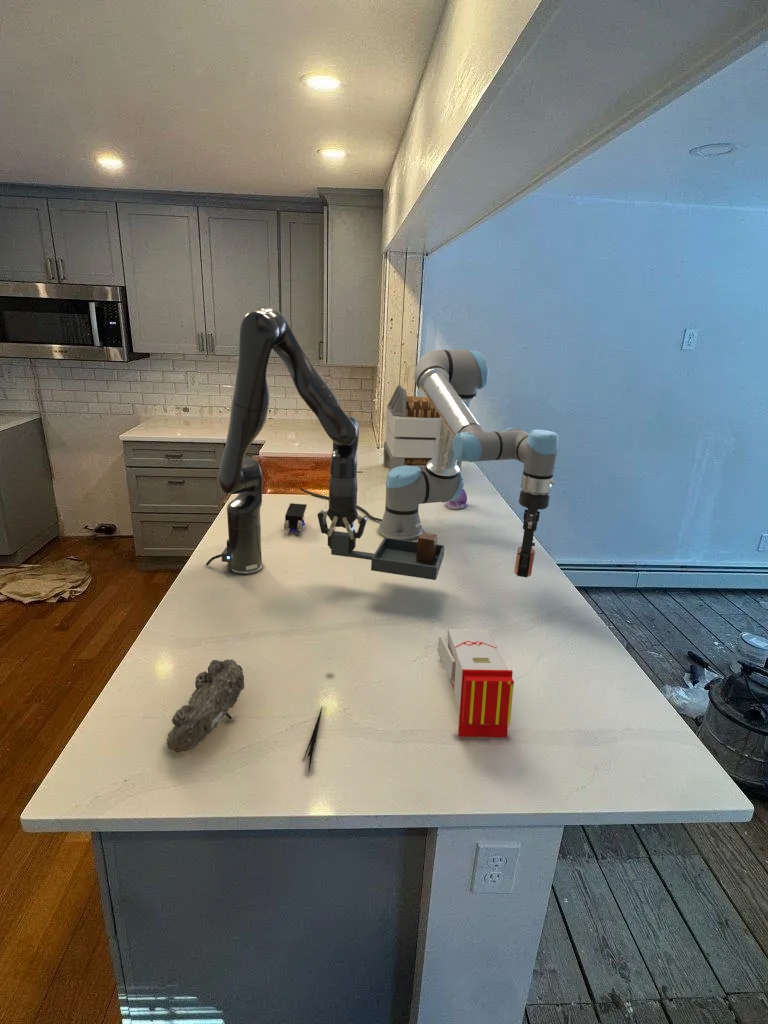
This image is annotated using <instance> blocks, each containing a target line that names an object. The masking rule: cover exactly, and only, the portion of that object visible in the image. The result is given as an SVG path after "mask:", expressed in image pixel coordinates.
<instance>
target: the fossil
mask: <svg viewBox="0 0 768 1024" xmlns="http://www.w3.org/2000/svg"><path fill="white" fill-rule="evenodd" d="M243 670H244V669H243V667H242V665H240V664H237V662H236V661H235V660H234V659H232V658H231V659H227V658H226V659H224V660H223V661H222V660H217V659H212V660H211V661H210V663H209V665H208V666H207V671H201V672H199V673H198V674H197V675H196V676H195V680H194V684H195V685H194V687H195V689H194V690H193V693H192V694H191V697H190V698H189V700H188V704H184V705H182V706H181V707H180V709H177V710H176V711H175V713H174V715H173V716H172V718H171V723H172V724H173V727H172V730H171V731H170V732H168V734H167V738H166V741H167V742H166V745H167V749H168V750H169V751H173V752H174V753H176V754H178V753H182V752H188V751H189V752H192V751H193V750H195V748H196V747H197V746H199V744H200V743H201V742H203V741H204V740H205V739H206V738H207V737H208V736H209V735H210V734H211V733H212V732H214V730H215V729H217V727H218V726H219V724H220V722H221V721H222V720H223V719H224V718H225V716H226V717H227V719H229V720H233V717H232V715H230V714H229V710H230V709H231V708H234V706H235V704H236V703H237V702H238V699H239V697H240V695H241V693H242V691H243V690H245V689H244V688H245V675H244V671H243Z"/></svg>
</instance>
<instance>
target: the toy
mask: <svg viewBox="0 0 768 1024" xmlns="http://www.w3.org/2000/svg"><path fill="white" fill-rule="evenodd" d="M446 640H447V643H446V641H445V639H444V636H443V635H442V634H439V637H438V646H437V656H438V657H439V659H440V661H441V663H442V666H443V668H444V670H445V672H446V674H447V677H448V679H449V681H450V684H451V687H452V690H453V693H454V697H455V701H456V705H457V708H458V711H459V714H458V715H459V716H458V730H457V731H458V732H457V737H458V738H508V731H509V726H510V725H511V717H512V707H513V697H514V696H513V695H514V684H515V680H514V679H513V673H514V671H513V670H512V669H508V667H507V665H506V662H505V661H504V659H503V658H502V655H501V653H500V651H499V649H498V647H497V643H496V639H495V637H494V635H493V634H491V632H490V631H489V629H467V628H466V629H465V628H463V629H461V628H460V629H459V628H448V630H447V639H446Z"/></svg>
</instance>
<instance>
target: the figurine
mask: <svg viewBox="0 0 768 1024" xmlns="http://www.w3.org/2000/svg"><path fill="white" fill-rule="evenodd" d="M460 472H461V473H462V474H463V470H462V469H461V470H460ZM462 482H463V488H462V491H461V494H460V495H459V497H458V498H457V499H455V500H453V501H448V502H446V506H447V507H448V509H452V510H460V509H464V508H465V507H466V506H467V502H468V496H467V495H468V494H467V492H466V491H465V489H464V486H465V485H464V480H462Z"/></svg>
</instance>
